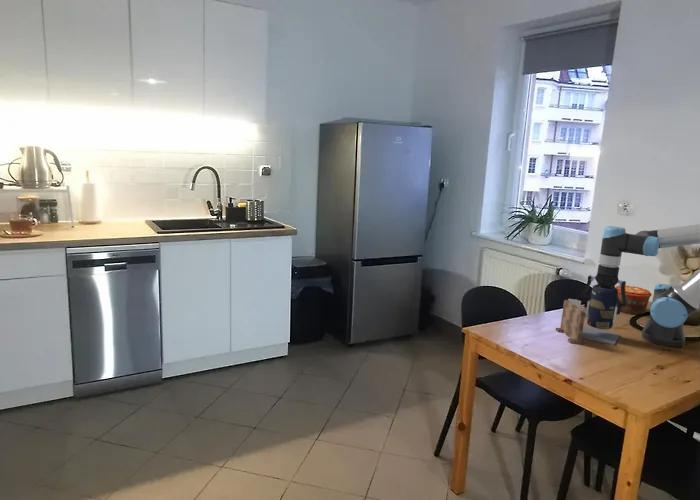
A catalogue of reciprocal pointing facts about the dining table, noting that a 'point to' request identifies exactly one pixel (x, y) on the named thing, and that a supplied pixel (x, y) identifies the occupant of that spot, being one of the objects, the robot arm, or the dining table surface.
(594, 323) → the canister
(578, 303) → the architectural model
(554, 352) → the dining table surface
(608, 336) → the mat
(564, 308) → the tan upright piece
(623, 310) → the food container
